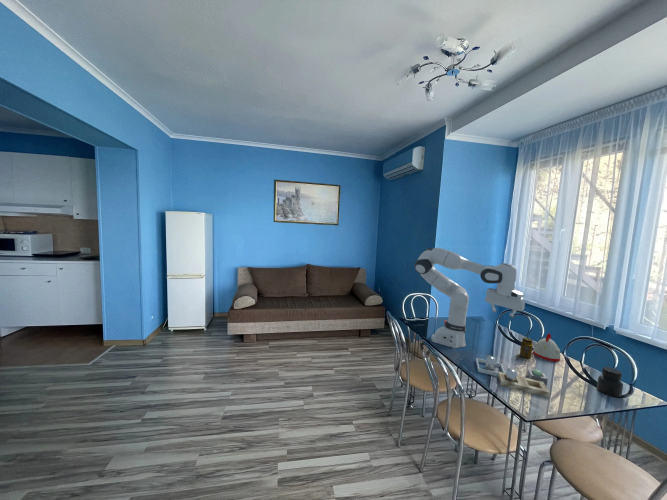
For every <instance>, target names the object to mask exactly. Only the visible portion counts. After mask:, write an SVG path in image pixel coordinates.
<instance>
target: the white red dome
mask: <svg viewBox="0 0 667 500" xmlns="http://www.w3.org/2000/svg"><path fill="white" fill-rule="evenodd" d="M532 355H534V356H536V357H538V358H539V359H543V360H545V361H550V362H559V361H560V360H561V349H560V348H559V347H558V345H557V344H556V342H555V341H554V340H552V335H551V334H550V333H549V332H548V333H547V334H546V337H544V338H541V339H539V340H538V341H537V342H535V343H534V345H533V348H532Z"/></svg>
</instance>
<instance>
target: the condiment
mask: <svg viewBox="0 0 667 500" xmlns="http://www.w3.org/2000/svg"><path fill="white" fill-rule="evenodd" d="M533 341H534V340H533V339H531V338H529V337H522V339H521V343H520V348H519V349H520V350H519V353H518V354H516V355H515V357H516V358H519V359H521V360H524V361H527V362H529V361H531V360H533V359H534V357H532V355H533V349H534V345H533Z"/></svg>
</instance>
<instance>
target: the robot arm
mask: <svg viewBox="0 0 667 500" xmlns="http://www.w3.org/2000/svg"><path fill="white" fill-rule="evenodd" d="M435 265H438V266H441V267H444V268H447V269H450V270H466V271H469V272H471V273H474V274H477V275H479V276H480V279H481V281H482V282H484V283H486V284H496V285H497V286H496V288H492V287H489V288H487V289H486V292H485V293H486V294H485V298H484V301H485V303H487V304H490V306H491V308H492V309H491V310H492V312H493V313H496V312H497V308H495V306H498V307H502V308H506V309H510V310H511V311H512V312H510V313H509V317H511V318H513V317H514V316H515V313H516V312H517V311H518V312H523V311H524V310H525V308H526V307H525V305H526V303H525V299H524V296H525V293H523V292H521V291H519V290H518V289H516V286H515V285H516V284H515V283H516V281H517V268H516V266H515V265H512V264H509V263H505V262H504V263H503V262H502V263H500V264H497V265H485V264H484V265H483V264H480V263H477V262H474V261H472V260H469V259H467V258H466V257H463V256H462V255H460V254H458V253H456V252H454V251H452V250H449V249H446V248H441V247H433V248H431V247H430V248H429V247H428V248H427V249H425V250H423V252H422V253H420V255H419V257H418V259H417V260H416V261H415V263H414V270H415V271H416V272H417V273H418V274H420V276H421V278H423V279H424V280H425V281H426V283H428V284H429V285H431V286H432V287H433V288H435V289H436V290H437V291H439V292H440V293H442V294H444V295H446V296H447V297H449V298H450V302H449V308H448V319H444V320H443V323H444V324H443V325H444V326H441V327H438V328H437V329H436V331H435V333H433V334H432V335H431V338H430V340H431V342H433V343H437V344H439V345H443V346H447V347H450V348H453V349H457V348H465V347H466V345H467V344H466V338H465V337H466V336H465V335H466V329H467V325H466V320H467V312H468V308H469V304H470V303H469V301H470V297H469V296H470V295H469V294H468V291H467V290H466V289H465V288H464V287H463V286H461V285H460V284H458V283H456V282H455V281H453V280H452V279H451V278H449V277H447V276H446V274H444V273H442V272H441V271H439V270H438V269H436V267H435Z"/></svg>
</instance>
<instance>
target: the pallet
mask: <svg viewBox="0 0 667 500" xmlns="http://www.w3.org/2000/svg"><path fill="white" fill-rule="evenodd" d="M506 373H507V372H505V373H502V371H498V376H497V378H498V380H499V383H500V386H502V387H506V388H509V389H514V390H517V391H522V392H526V393H530V394H534V395H538V396H541V397H542V396H543V397H546V398H550V394H551V393H550V391H549V389H548V387H547V385H545V384H544V383H543V382H541V381H537V380H533V379H529V377H524V376H520V375H517V377H516V382H512V381H508V380H506Z"/></svg>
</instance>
